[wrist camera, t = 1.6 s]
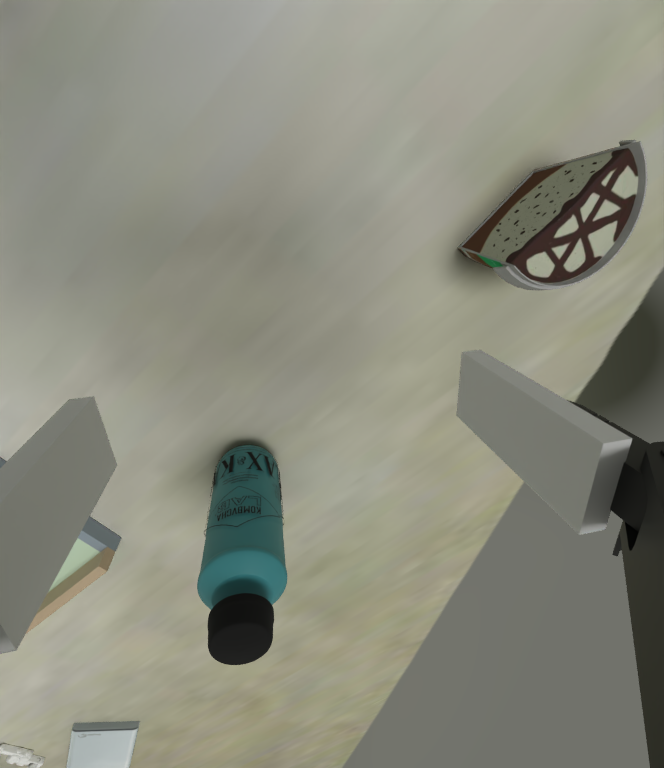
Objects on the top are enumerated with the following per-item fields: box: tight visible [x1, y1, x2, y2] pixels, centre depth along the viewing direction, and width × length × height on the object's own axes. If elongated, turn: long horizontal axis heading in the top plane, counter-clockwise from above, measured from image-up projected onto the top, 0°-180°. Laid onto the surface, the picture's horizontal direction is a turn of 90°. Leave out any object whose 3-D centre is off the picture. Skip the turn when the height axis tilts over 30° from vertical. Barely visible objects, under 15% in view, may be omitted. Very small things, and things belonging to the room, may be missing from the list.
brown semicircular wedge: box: [458, 140, 647, 290], centre depth 33 cm, size 12×6×10 cm, turn 135°
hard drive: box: [66, 721, 140, 768], centre depth 55 cm, size 2×8×12 cm
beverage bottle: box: [197, 445, 287, 665], centre depth 32 cm, size 6×7×20 cm
